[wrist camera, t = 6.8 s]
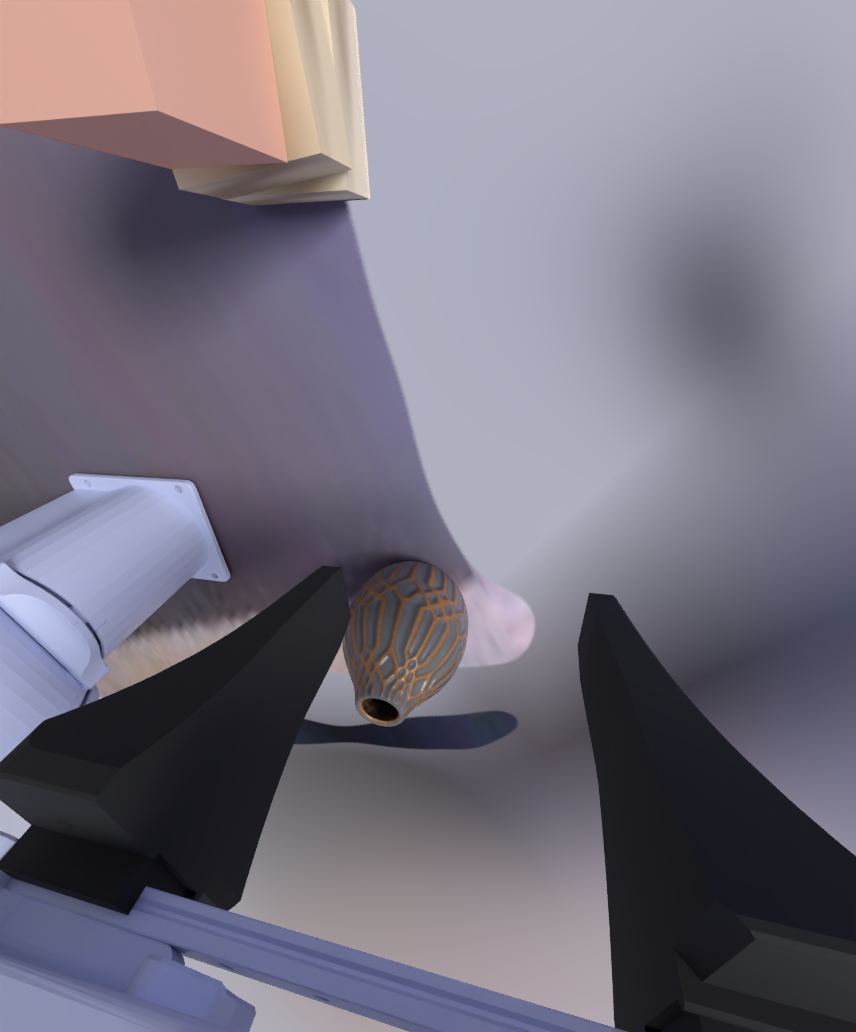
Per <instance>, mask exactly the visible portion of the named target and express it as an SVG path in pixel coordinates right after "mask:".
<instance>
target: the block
mask: <svg viewBox="0 0 856 1032" xmlns="http://www.w3.org/2000/svg"><path fill="white" fill-rule="evenodd" d="M0 126H2V127H6V128H10V129H14V130H18V131H22V132H26V133H30V134H34V135H38V136H42V137H46V138H50V139H54V140H58V141H62V142H65V143H69V144H73V145H77V146H81V147H85V148H89V149H93V150H97V151H101V152H105V153H109V154H113V155H117V156H121V157H125V158H129V159H133V160H137V161H141V162H145V163H149V164H152V165H156V166H160V167H164V168H168V169H180V168H199V167H218V166H237V165H256V164H274V163H288V160H287V153H286V146H285V139H284V132H283V126H282V119H281V112H280V105H279V98H278V91H277V84H276V77H275V71H274V64H273V57H272V50H271V43H270V36H269V29H268V22H267V16H266V9H265V2H264V0H0Z"/></svg>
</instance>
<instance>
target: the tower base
mask: <svg viewBox="0 0 856 1032" xmlns="http://www.w3.org/2000/svg"><path fill="white" fill-rule="evenodd" d="M322 2H323V8H324V13H325V19H326V24H327V30H328V35H329V41H330V47H331V52H332V58H333V63H334V69H335V74H336V80H337V85H338V91H339V96H340V102H341V107H342V113H343V119H344V124H345V130H346V135H347V141H348V146H349V152H350V157H351V163H352V168H353V169H352V170H348V171H344V172H340V173H335V174H331V175H327V176H323V177H319V178H315V179H311V180H307V181H302V182H298V183H294V184H290V185H286V186H282V187H278V188H273V189H269V190H265V191H261V192H257V193H253V194H249V195H245V196H240V197H236V198H232V199H228V200H229V201H234V202H239V203H244V204H248V205H253V206H256V205H272V204H288V203H304V202H319V201H335V200H347V201H352V200H367V199H370V187H369V173H368V161H367V148H366V135H365V123H364V110H363V98H362V85H361V72H360V60H359V49H358V48H359V47H358V35H357V22H356V10H355V8H354V6H353V5H352V3H351V2H350V0H322ZM220 199H223V198H220ZM224 200H227V199H224Z"/></svg>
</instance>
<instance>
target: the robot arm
mask: <svg viewBox="0 0 856 1032" xmlns="http://www.w3.org/2000/svg"><path fill="white" fill-rule="evenodd" d="M69 481H70V483H71V485H72V487H73V488H74V490H73V491H71V492H69V493H67V494H65V495H63V496H61V497H59V498H57V499H55V500H53V501H51V502H49V503H47V504H45V505H43V506H41V507H39V508H37V509H35V510H33V511H31V512H29V513H27V514H25V515H23V516H21V517H19V518H17V519H15V520H13V521H11V522H9V523H7V524H5V525H3V526H1V527H0V800H1V801H2V802H4V803H5V804H6V805H7V806H9V807H10V808H11V809H12V810H14V811H15V812H16V813H17V814H19V815H20V816H21V817H22V818H24V819H25V820H26V821H27V822H29V823H30V824H31V826H30V828H29V829H28V830H27V831H26V832H25V833H24V834H23V836H22V837H21V838H20V839H18V838H16V837H14V836H12V835H10V834H7V833H4V832H2V831H0V1032H249V1031H250V1028H251V1025H252V1023H253V1020H254V1017H255V1014H256V1011H255V1007H254V1006H253V1005H251V1004H249V1003H247V1002H246V1001H244V1000H242V999H241V998H239V997H237V996H236V995H234V994H233V993H232V992H230V991H229V990H228V989H226V987H225V986H224V985H223V983H222V982H221V981H219V980H216V979H214V978H211V977H209V976H207V975H205V974H202V973H200V972H198V971H196V970H193V969H191V968H188V967H186V966H185V962H184V958H183V956H186V957H189V958H192V959H195V960H198V961H201V962H204V963H207V964H210V965H213V966H216V967H219V968H222V969H225V970H228V971H231V972H234V973H237V974H240V975H243V976H245V977H249V978H252V979H255V980H257V981H260V982H263V983H266V984H269V985H272V986H275V987H278V988H281V989H284V990H287V991H290V992H293V993H296V994H299V995H302V996H305V997H308V998H311V999H314V1000H317V1001H320V1002H323V1003H326V1004H329V1005H332V1006H335V1007H338V1008H341V1009H344V1010H347V1011H350V1012H353V1013H356V1014H359V1015H362V1016H365V1017H368V1018H371V1019H374V1020H377V1021H379V1022H382V1023H385V1024H388V1025H391V1026H394V1027H397V1028H401V1029H403V1030H406V1031H409V1032H856V856H855V855H853V854H852V853H851V852H850V851H848V850H847V849H846V848H845V847H844V846H842V845H841V844H840V843H839V842H838V841H836V840H835V839H834V838H833V837H832V836H830V835H829V834H828V833H827V832H826V831H825V830H824V829H822V828H821V827H820V826H819V825H818V824H817V823H815V822H814V821H813V820H812V819H811V818H810V817H808V816H807V815H806V814H805V813H804V812H803V811H801V810H800V809H799V808H798V807H797V806H796V805H795V804H793V803H792V802H791V801H790V800H789V799H788V798H787V797H786V796H785V795H784V794H783V793H781V792H780V791H779V790H778V789H777V788H776V787H775V786H774V785H773V784H772V783H771V782H770V781H769V780H768V779H767V778H766V777H764V776H763V775H762V774H761V773H760V772H759V771H758V770H757V769H756V768H755V767H754V766H753V765H752V764H751V763H750V762H748V761H747V760H746V759H745V758H744V757H743V756H742V755H741V754H740V753H739V752H738V751H737V750H736V749H735V748H734V747H733V746H732V745H731V744H730V743H729V742H728V741H727V740H726V739H725V738H724V736H723V735H722V734H721V733H720V732H719V731H718V730H717V729H716V728H715V727H714V726H713V725H712V724H711V723H710V722H709V720H708V719H707V718H706V717H705V716H704V715H703V714H702V713H701V712H700V710H699V709H698V708H697V707H696V706H695V705H694V703H693V702H692V701H691V700H690V699H689V698H688V696H687V695H686V694H685V693H684V692H683V690H682V689H681V688H680V687H679V686H678V684H677V683H676V682H675V681H674V679H672V677H671V676H670V675H669V673H668V672H667V671H666V669H665V668H664V667H663V666H662V664H661V663H660V661H659V660H658V659H657V657H656V656H655V655H654V653H653V652H652V651H651V649H650V648H649V647H648V645H647V644H646V643H645V641H644V640H643V638H642V637H641V635H640V634H639V632H638V631H637V630H636V628H635V627H634V625H633V624H632V622H631V621H630V619H629V618H628V616H627V615H626V613H625V611H624V610H623V608H622V607H621V605H620V604H619V602H618V600H617V599H616V598H615V597H614V596H613V595H604V594H594V593H589V596H588V601H587V605H586V610H585V614H584V619H583V624H582V628H581V633H580V637H579V643H578V655H579V670H580V682H581V688H582V693H583V699H584V705H585V710H586V715H587V721H588V726H589V732H590V737H591V742H592V748H593V753H594V759H595V764H596V771H597V778H598V785H599V795H600V806H601V817H602V828H603V840H604V853H605V866H606V878H607V879H606V880H607V895H608V910H609V925H610V942H611V961H612V981H613V1003H614V1022H615V1028H613V1027H610V1026H607V1025H603V1024H600V1023H597V1022H594V1021H590V1020H587V1019H583V1018H580V1017H577V1016H574V1015H570V1014H567V1013H563V1012H560V1011H557V1010H554V1009H551V1008H547V1007H544V1006H541V1005H537V1004H534V1003H531V1002H527V1001H524V1000H521V999H517V998H514V997H511V996H507V995H504V994H501V993H498V992H494V991H490V990H488V989H484V988H481V987H478V986H474V985H471V984H468V983H464V982H461V981H458V980H454V979H451V978H448V977H444V976H441V975H438V974H434V973H431V972H428V971H425V970H421V969H418V968H415V967H412V966H408V965H405V964H401V963H398V962H394V961H392V960H388V959H385V958H382V957H378V956H375V955H372V954H368V953H365V952H362V951H359V950H355V949H352V948H349V947H345V946H342V945H339V944H335V943H332V942H329V941H325V940H322V939H319V938H315V937H312V936H309V935H306V934H302V933H299V932H296V931H292V930H289V929H286V928H282V927H279V926H275V925H272V924H269V923H266V922H263V921H259V920H256V919H253V918H249V917H246V916H243V915H239V914H236V913H233V912H229V911H228V910H230V909H231V908H232V907H234V906H235V905H236V904H237V903H238V902H239V901H240V900H241V897H242V894H243V890H244V887H245V883H246V880H247V877H248V874H249V870H250V867H251V864H252V860H253V857H254V854H255V851H256V848H257V845H258V841H259V838H260V835H261V832H262V829H263V826H264V823H265V821H266V818H267V815H268V812H269V809H270V806H271V802H272V800H273V797H274V794H275V791H276V789H277V786H278V783H279V780H280V778H281V775H282V772H283V770H284V767H285V764H286V762H287V759H288V756H289V754H290V751H291V749H292V746H293V744H294V741H295V739H296V736H297V734H298V731H299V729H300V726H301V724H302V722H303V720H304V718H305V715H306V713H307V711H308V709H309V707H310V705H311V703H312V701H313V699H314V697H315V695H316V693H317V692H318V690H319V688H320V686H321V684H322V682H323V680H324V678H325V676H326V674H327V672H328V670H329V668H330V666H331V664H332V662H333V660H334V658H335V656H336V654H337V652H338V650H339V648H340V646H341V643H342V640H343V638H344V635H345V632H346V629H347V626H348V623H349V620H350V617H351V614H350V609H349V604H348V599H347V594H346V589H345V584H344V579H343V574H342V569H341V568H340V567H330V566H322V567H321V568H319V569H318V570H316V571H315V572H314V573H312V574H311V575H310V576H308V577H307V578H306V579H304V580H303V581H302V582H301V583H299V584H298V585H297V586H295V587H294V588H293V589H292V590H290V591H289V592H288V593H286V594H285V595H284V596H282V597H281V598H280V599H278V600H277V601H276V602H274V603H273V604H272V605H270V606H269V607H268V608H266V609H265V610H263V611H262V612H260V613H259V614H258V615H256V616H255V617H253V618H252V619H250V620H249V621H247V622H246V623H245V624H243V625H242V626H240V627H239V628H237V629H236V630H234V631H233V632H231V633H230V634H228V635H226V636H225V637H223V638H222V639H220V640H218V641H217V642H215V643H213V644H212V645H210V646H208V647H207V648H205V649H203V650H201V651H200V652H198V653H196V654H194V655H193V656H191V657H189V658H187V659H185V660H183V661H181V662H179V663H177V664H175V665H173V666H171V667H169V668H167V669H165V670H163V671H162V672H160V673H158V674H156V675H154V676H151V677H149V678H147V679H145V680H143V681H141V682H139V683H136V684H134V685H132V686H130V687H127V688H125V689H123V690H120V691H118V692H116V693H114V694H111V695H109V696H106V697H104V698H102V699H99V691H98V689H97V687H96V686H95V684H96V683H97V682H98V681H99V680H100V679H101V678H102V677H103V676H105V675H106V674H107V673H108V672H109V671H110V669H109V667H108V666H107V665H106V664H105V662H104V661H103V659H105V658H106V657H107V656H108V655H109V654H110V653H111V652H112V651H113V650H114V649H115V648H116V647H117V646H118V645H120V644H121V643H122V642H123V641H124V640H125V639H126V638H127V637H128V636H129V635H130V634H131V633H132V632H133V631H135V630H136V629H137V628H138V627H139V626H140V625H141V624H142V623H143V622H144V621H145V620H146V619H147V618H148V617H150V616H151V615H152V614H153V613H154V612H155V611H156V610H157V609H158V608H159V607H160V606H161V605H162V604H164V603H165V602H166V601H167V600H168V599H169V598H170V597H171V596H172V595H173V594H174V593H175V592H176V591H177V590H179V589H180V588H181V587H182V586H183V585H184V584H185V583H186V582H187V581H188V580H189V579H190V578H196V579H205V580H213V581H222V582H226V581H227V580H228V579H229V578H230V573H229V570H228V568H227V565H226V563H225V560H224V558H223V555H222V553H221V550H220V547H219V545H218V542H217V540H216V537H215V535H214V532H213V530H212V527H211V524H210V522H209V519H208V517H207V514H206V512H205V509H204V507H203V504H202V501H201V499H200V496H199V494H198V491H197V489H196V486H195V485H194V484H193V483H192V482H191V481H188V480H179V479H162V478H145V477H129V476H112V475H96V474H79V473H76V474H73V475H71V476H69ZM180 487H181V488H180ZM182 955H183V956H182Z"/></svg>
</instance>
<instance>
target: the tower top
mask: <svg viewBox="0 0 856 1032" xmlns="http://www.w3.org/2000/svg"><path fill="white" fill-rule="evenodd" d="M264 2H265V9H266V16H267V22H268V29H269V36H270V43H271V50H272V57H273V64H274V71H275V77H276V84H277V91H278V98H279V105H280V112H281V119H282V126H283V132H284V139H285V146H286V153H287V160H288V163H274V164H256V165H237V166H218V167H199V168H180V169H172V171H173V174H174V177H175V179H176V182H177V185H178V188H179V190H184V191H189V192H193V193H198V194H203V195H208V196H213V197H218V198H223V199H227V200H228V199H232V198H236V197H240V196H245V195H249V194H253V193H257V192H261V191H265V190H269V189H273V188H278V187H282V186H286V185H290V184H294V183H298V182H302V181H307V180H311V179H315V178H319V177H323V176H327V175H331V174H335V173H340V172H344V171H348V170H352V169H353V168H352V163H351V157H350V152H349V146H348V141H347V135H346V130H345V124H344V119H343V113H342V107H341V102H340V96H339V91H338V85H337V80H336V74H335V69H334V63H333V58H332V52H331V47H330V41H329V35H328V30H327V24H326V19H325V13H324V8H323V2H322V0H264Z"/></svg>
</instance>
